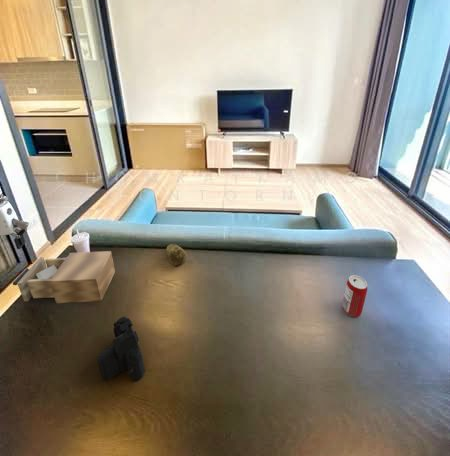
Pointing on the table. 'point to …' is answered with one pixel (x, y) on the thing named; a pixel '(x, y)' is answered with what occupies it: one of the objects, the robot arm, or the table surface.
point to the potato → (176, 255)
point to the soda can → (354, 296)
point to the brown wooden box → (83, 277)
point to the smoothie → (81, 241)
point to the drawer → (36, 279)
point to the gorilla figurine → (122, 353)
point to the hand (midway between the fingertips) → (4, 248)
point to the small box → (47, 273)
